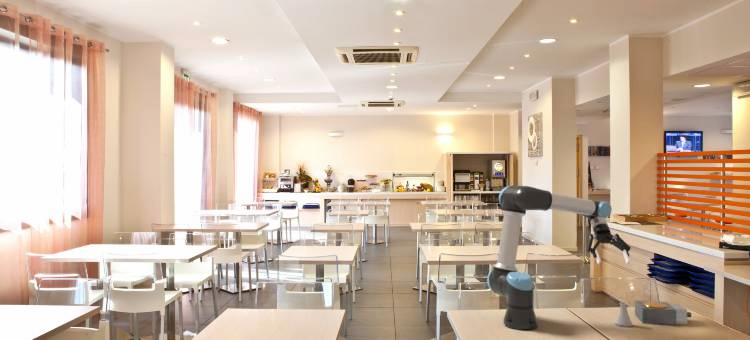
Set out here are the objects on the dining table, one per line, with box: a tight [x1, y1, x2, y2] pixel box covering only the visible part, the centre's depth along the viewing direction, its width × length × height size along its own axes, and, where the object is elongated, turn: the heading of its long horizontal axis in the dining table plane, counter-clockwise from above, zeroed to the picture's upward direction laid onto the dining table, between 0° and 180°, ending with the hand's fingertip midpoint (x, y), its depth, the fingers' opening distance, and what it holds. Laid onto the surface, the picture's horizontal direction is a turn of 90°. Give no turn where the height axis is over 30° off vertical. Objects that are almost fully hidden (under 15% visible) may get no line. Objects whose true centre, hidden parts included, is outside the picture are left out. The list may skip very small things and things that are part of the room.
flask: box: [615, 302, 633, 328], centre depth 225 cm, size 7×7×10 cm
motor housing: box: [634, 300, 692, 326], centre depth 231 cm, size 22×14×7 cm, turn 75°
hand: (613, 262), depth 234 cm, fingers open, 13 cm apart
